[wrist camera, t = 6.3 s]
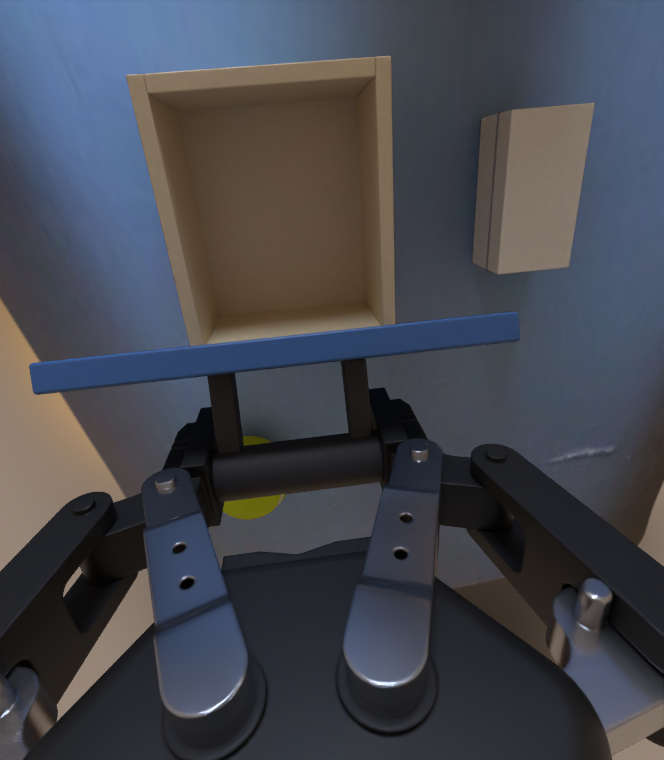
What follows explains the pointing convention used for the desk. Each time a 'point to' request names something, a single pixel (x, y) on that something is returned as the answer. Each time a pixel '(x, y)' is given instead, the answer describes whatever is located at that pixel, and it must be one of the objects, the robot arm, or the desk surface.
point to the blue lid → (222, 360)
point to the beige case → (530, 187)
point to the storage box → (274, 194)
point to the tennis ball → (253, 505)
